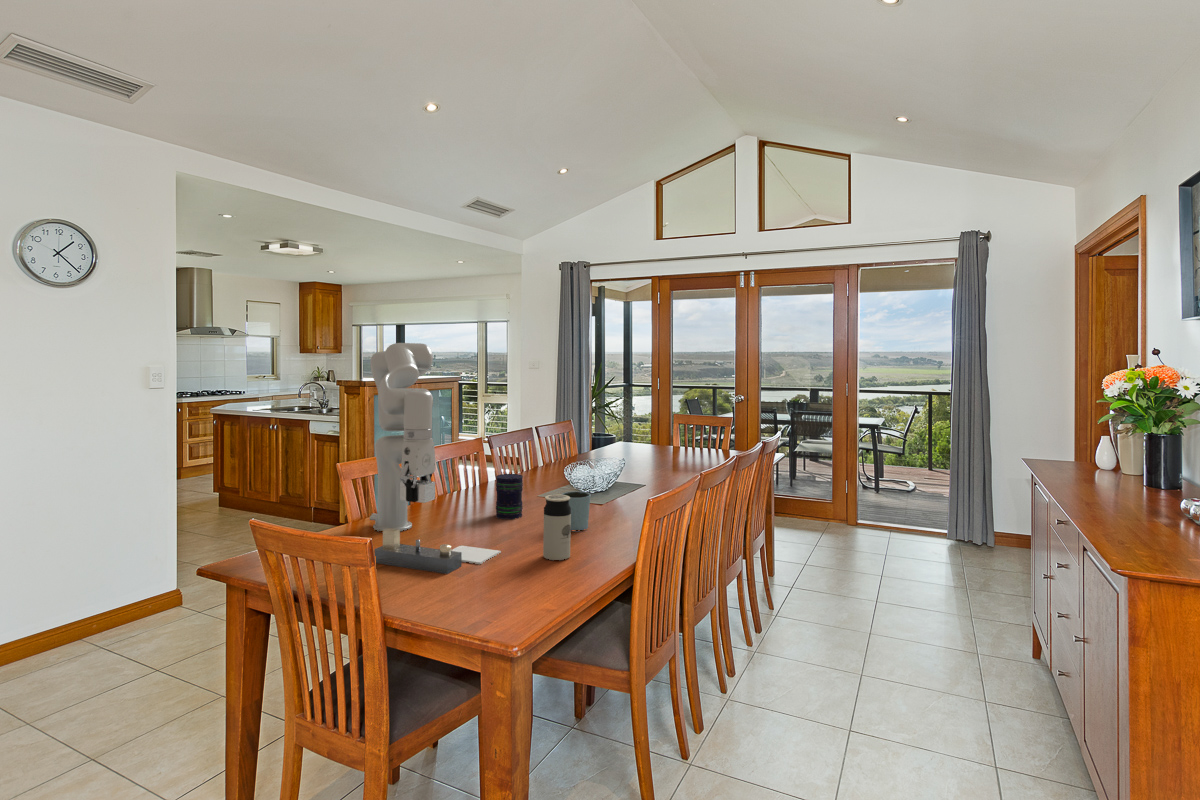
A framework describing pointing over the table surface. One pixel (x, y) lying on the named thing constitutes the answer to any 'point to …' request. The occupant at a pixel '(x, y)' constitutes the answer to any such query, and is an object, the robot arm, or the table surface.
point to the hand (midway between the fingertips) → (417, 498)
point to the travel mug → (557, 527)
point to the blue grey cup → (579, 509)
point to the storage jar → (509, 496)
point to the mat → (475, 554)
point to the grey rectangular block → (420, 491)
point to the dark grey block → (416, 555)
